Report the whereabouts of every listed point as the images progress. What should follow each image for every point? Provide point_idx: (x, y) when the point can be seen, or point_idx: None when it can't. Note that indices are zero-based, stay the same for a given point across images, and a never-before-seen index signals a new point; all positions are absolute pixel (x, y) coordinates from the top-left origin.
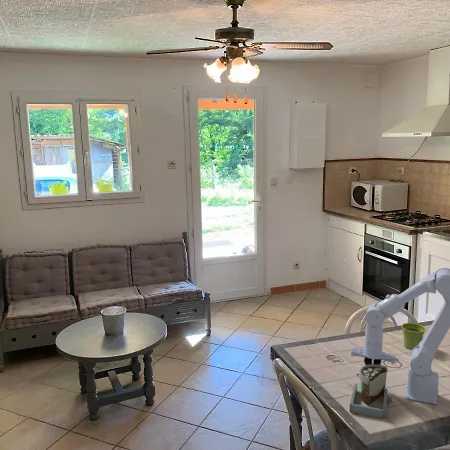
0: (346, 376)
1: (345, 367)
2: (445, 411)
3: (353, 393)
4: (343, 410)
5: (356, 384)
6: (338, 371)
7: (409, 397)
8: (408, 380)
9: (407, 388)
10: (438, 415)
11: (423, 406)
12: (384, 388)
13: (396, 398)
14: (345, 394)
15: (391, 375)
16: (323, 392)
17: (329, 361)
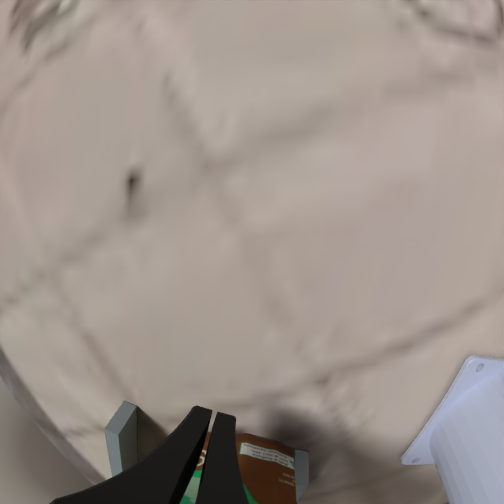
0: (63, 234)
1: (67, 90)
2: None
3: None
4: None
5: (115, 438)
6: (26, 168)
7: (419, 458)
8: (455, 499)
9: (442, 448)
10: None
11: None
12: (290, 482)
13: (353, 460)
14: (92, 423)
15: (436, 171)
16: (20, 392)
17: (9, 51)
